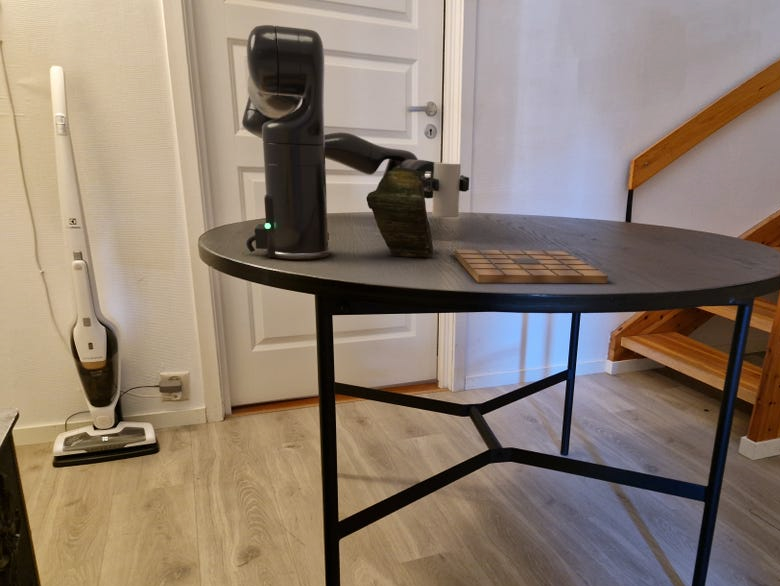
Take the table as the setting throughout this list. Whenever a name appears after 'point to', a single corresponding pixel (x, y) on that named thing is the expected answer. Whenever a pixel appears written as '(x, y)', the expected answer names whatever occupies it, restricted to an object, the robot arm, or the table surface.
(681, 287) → the table surface
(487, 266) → the board
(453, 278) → the table surface
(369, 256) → the table surface
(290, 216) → the robot arm
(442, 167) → the white tin can
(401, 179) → the rock
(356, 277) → the table surface
